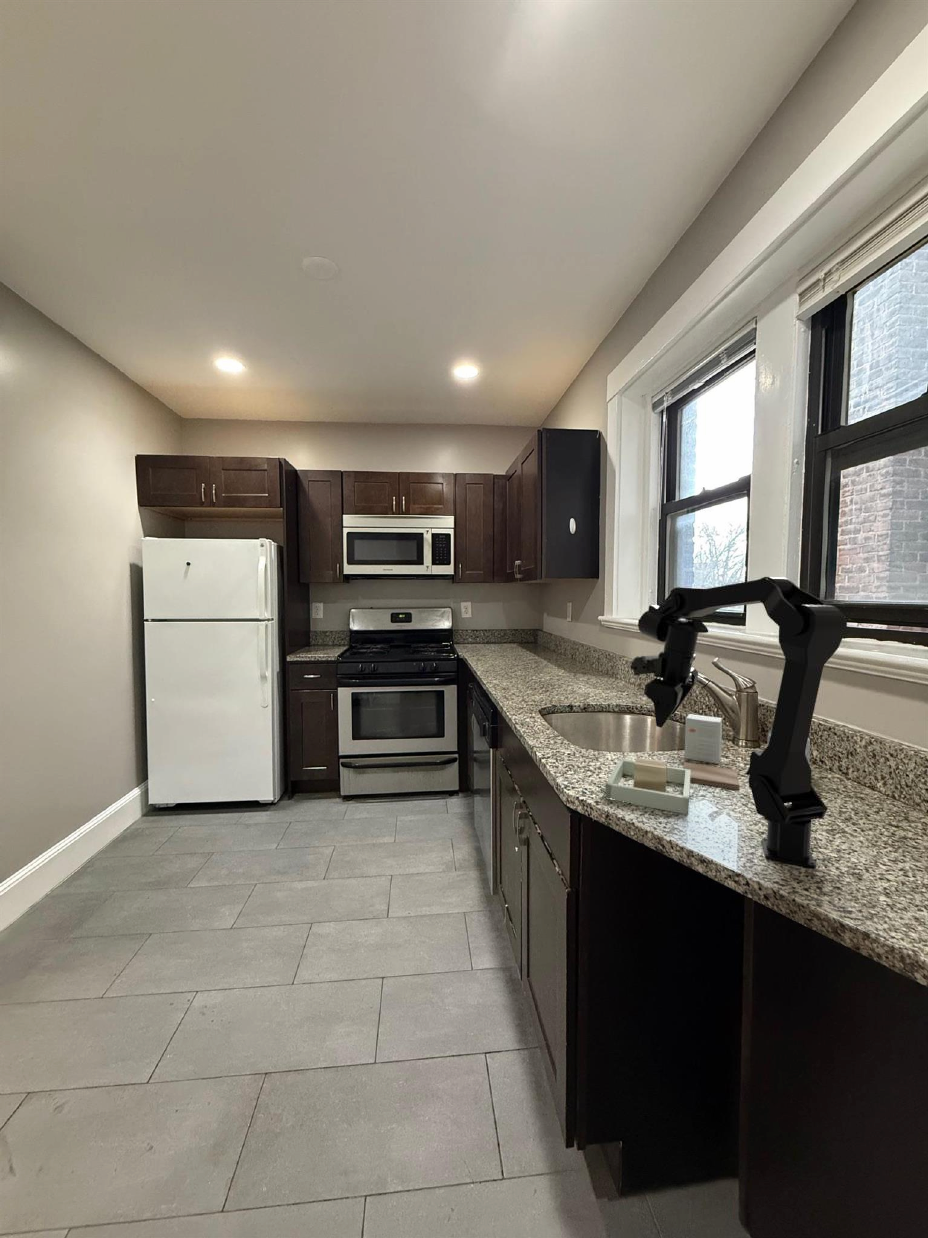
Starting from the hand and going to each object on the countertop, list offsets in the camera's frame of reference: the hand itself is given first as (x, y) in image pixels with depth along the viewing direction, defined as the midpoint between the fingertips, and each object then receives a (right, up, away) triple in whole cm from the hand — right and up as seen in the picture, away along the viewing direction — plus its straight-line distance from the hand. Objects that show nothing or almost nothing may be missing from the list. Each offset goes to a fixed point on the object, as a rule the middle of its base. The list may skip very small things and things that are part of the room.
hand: (665, 720), depth 105 cm
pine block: (-3, -15, 0) cm, 15 cm away
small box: (+18, -15, +23) cm, 33 cm away
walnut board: (+14, -15, +9) cm, 22 cm away
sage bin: (-3, -15, 0) cm, 15 cm away
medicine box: (+34, -15, +13) cm, 39 cm away
